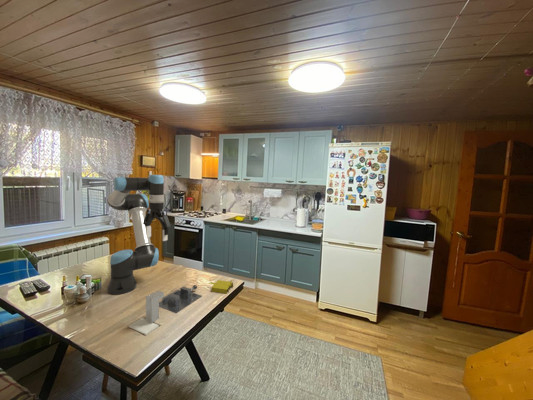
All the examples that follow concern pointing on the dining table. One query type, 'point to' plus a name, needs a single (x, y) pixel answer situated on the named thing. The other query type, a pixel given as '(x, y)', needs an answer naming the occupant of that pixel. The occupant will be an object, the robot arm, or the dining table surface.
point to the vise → (179, 299)
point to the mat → (144, 326)
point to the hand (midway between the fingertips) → (156, 238)
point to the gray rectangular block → (153, 306)
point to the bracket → (221, 286)
